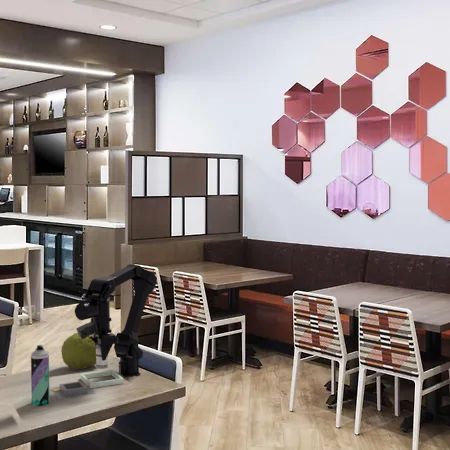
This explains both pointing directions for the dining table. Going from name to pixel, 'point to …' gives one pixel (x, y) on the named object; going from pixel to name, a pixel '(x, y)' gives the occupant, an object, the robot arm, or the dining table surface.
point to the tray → (101, 383)
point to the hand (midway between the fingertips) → (101, 358)
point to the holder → (72, 390)
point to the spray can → (40, 376)
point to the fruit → (79, 352)
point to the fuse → (100, 359)
